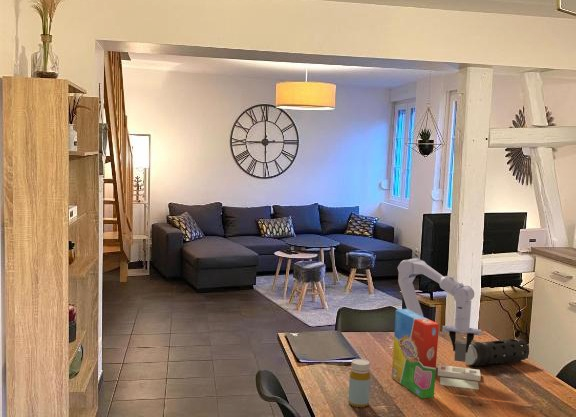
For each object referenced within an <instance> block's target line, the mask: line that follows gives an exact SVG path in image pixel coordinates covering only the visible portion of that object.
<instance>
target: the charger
mask: <svg viewBox="0 0 576 417" xmlns="http://www.w3.org/2000/svg"><path fill="white" fill-rule="evenodd" d="M466 341H467V340H466ZM466 341H465V340H457V339H455V351H454V355H453V356H454V361H455V362H463V363H466V362H465V356H466Z"/></svg>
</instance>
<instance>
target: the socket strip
mask: <svg viewBox="0 0 576 417" xmlns="http://www.w3.org/2000/svg"><path fill="white" fill-rule="evenodd" d="M437 377H444V378H452V379H460V380H468V381H476V382H481V378H482V377H481V371H480V369H475V368H468V367H460V366H459V367H458V366H453V365H452V366H451V365H445V364H444V365H443V364H437Z"/></svg>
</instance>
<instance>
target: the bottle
mask: <svg viewBox="0 0 576 417" xmlns="http://www.w3.org/2000/svg"><path fill="white" fill-rule="evenodd" d="M370 365H371V362H370V361H369V360H368V359H364V358H354V359H352V360H351V368H350V369H351V370H350V373H349V383H348V400H347V401H348V404H349V405H350V406H351V405H352V406H351V407H353V406H355V407H354V408H358V407H363V408H366V407H367V406H369V403H370V389H371V373H370V369H371V368H370ZM365 406H366V407H365Z"/></svg>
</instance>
